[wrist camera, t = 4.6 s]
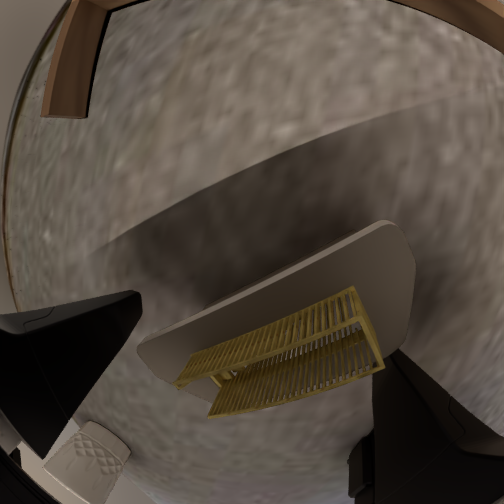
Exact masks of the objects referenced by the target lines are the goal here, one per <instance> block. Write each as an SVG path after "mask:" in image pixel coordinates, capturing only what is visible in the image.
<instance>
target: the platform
mask: <svg viewBox="0 0 504 504" xmlns="http://www.w3.org/2000/svg"><path fill="white" fill-rule="evenodd" d="M415 276H416V262H415V259H414V256H413V253H412V251H411V248H410V246H409V243H408V241H407V238H406V236H405V234H404V232H403V230H402V229H401V228H400V227H398V226H397V225H396V224H394V223H393V222H391V221H389V220H380V221H377V222H375V223H373V224H371V225H370V226H368V227H366V228H364V229H362V230H360V231H359V232H357V233H356V231H355V230H352V231H350V232H348V233H346V234H345V235H343V236H341V237H339V238H337V239H335V240H333V241H332V242H330V243H328V244H326V245H324V246H322V247H320V248H318V249H317V250H315V251H313V252H311V253H309V254H307V255H305V256H303V257H301V258H299V259H297V260H296V261H294V262H292V263H290V264H288V265H286V266H284V267H282V268H280V269H278V270H276V271H274V272H272V273H270V274H268V275H266V276H264V277H262V278H260V279H258V280H256V281H254V282H252V283H250V284H248V285H246V286H244V287H242V288H240V289H238V290H236V291H234V292H232V293H230V294H228V295H226V296H224V297H222V298H220V299H218V300H216V301H214V302H212V303H210V304H208V305H206V307H205V308H204V309H203V311H201V312H199V313H197V314H195V315H193V316H191V317H188V318H186V319H184V320H182V321H180V322H178V323H175V324H173V325H171V326H169V327H167V328H165V329H162V330H160V331H158V332H156V333H154V334H151V335H149V336H147V337H145V338H144V339H143V340H142V342H141V343H140V344H139V345H138V346H137V353H138V355H139V357H140V358H141V359H142V360H143V362H144V363H145V364H146V365H147V366H148V368H149V369H150V370H151V371H152V372H153V374H154V375H155V376H157V377H158V378H160V379H162V380H164V381H166V382H168V383H170V384H172V385H174V386H175V387H176V388H177V389H178V390H180V389H182V390H184V391H186V392H188V393H190V394H193V395H195V396H197V397H199V398H202V399H204V400H206V401H208V402H211V403H213V405H212V407H211V409H210V411H209V414H208V416H207V417H208V418H209V419H212V418H218V417H224V416H230V415H236V414H241V413H246V412H251V411H255V410H260V409H264V408H268V407H272V406H276V405H280V404H284V403H288V402H292V401H295V400H299V399H302V398H305V397H309V396H312V395H315V394H318V393H321V392H324V391H327V390H330V389H333V388H336V387H339V386H342V385H344V384H347V383H350V382H352V381H355V380H358V379H360V378H363V377H365V376H368V375H370V374H372V373H375V372H377V371H379V370H382V369H384V368H385V365H384V362H383V358H386V357H387V356H389V355H390V354H392V353H393V352H394V351H395V350H396V349H398V348H399V347H400V346H401V345H402V344H403V343H404V341H405V339H406V335H407V330H408V325H409V319H410V314H411V307H412V300H413V293H414V285H415ZM351 292H352V294H351ZM347 293H348V294H349V298H350V303H351V307H352V311H353V316H354V317H353V318H351V319H350V317H349V311H348V306H347V302H346V297H345V294H347ZM341 296H342V300H341ZM352 296H353V298H352ZM338 298H339V301H340V307H341V314H342V321H343V322H342V323H341V316H340V309H339V302H338ZM333 300H335V306H336V314H337V323H338V325H335V319H334V309H333ZM353 300H354V302H353ZM342 302H343V306H342ZM325 304H326V308H327V326H328V329H326V315H325ZM354 304H355V306H354ZM320 306H321V309H322V332H321V320H320ZM343 307H344V312H343ZM355 307H356V310H355ZM312 310H314V317H313V335H312V336H311V327H312ZM356 311H357V314H356ZM344 313H345V318H344ZM301 315H302V316H301ZM345 319H346V321H345ZM299 320H301V323H300V332H299V340H298V341H297V337H298V329H299ZM307 321H308V323H307ZM358 321H359V323H360V325H361V330H359V331H358V329H357V328H355V330H356V332H355V333H352V327H351V324H353V323H356V322H358ZM294 322H295V323H294ZM293 323H294V325H293ZM347 326H349V330H350V335H348V336H347V331H346V327H347ZM281 328H282V329H281ZM342 328H344V335H345V337H344V338H342V335H341V329H342ZM286 330H287V334H286V335H285V331H286ZM336 331H338V332H339V340H337V341H336ZM331 333H333V338H334V342H332V343H331ZM306 335H307V337H306ZM326 335H328V344H327V345H326ZM285 336H286V339H285ZM322 337H323V346H322V347H321V338H322ZM317 339H318V347H317V349H315V344H316V340H317ZM284 341H285V344H284ZM312 341H313V343H312V351H310V345H311V342H312ZM307 343H308V344H307ZM306 344H307V353H305V348H306ZM302 345H303V346H302ZM283 346H284V347H283ZM301 346H302V355H300V350H301ZM297 347H298V348H297ZM264 348H265V349H264ZM296 348H297V356H296V357H295V353H296ZM292 349H293V351H292V357H291V359H290V355H291V350H292ZM287 351H288V354H287V359H286V360H285V358H286V353H287ZM262 353H263V354H262ZM282 353H283V356H282ZM256 355H257V356H256ZM277 355H278V359H277ZM273 356H274V358H273ZM281 356H282V361H281ZM268 358H269V361H268ZM272 358H273V362H272ZM264 359H265V360H264ZM276 359H277V363H276ZM280 361H281V362H280ZM259 362H260V364H259ZM263 362H264V364H263ZM267 362H268V365H267ZM271 362H272V365H271ZM374 362H376V363H377V367H375V368H373V366H372V363H374ZM255 363H256V364H255ZM246 365H247V368H245V367H244V366H246ZM258 365H259V367H258ZM262 365H263V367H262ZM368 365H369V366H370V370H368V371H366V368H365V366H368ZM250 366H251V367H250ZM254 366H255V367H254ZM266 366H267V367H266ZM360 368H363V373H360V374H359V370H358V369H360ZM249 369H250V370H249ZM253 369H254V370H253ZM257 369H258V370H257ZM231 370H232V371H233V372H237V371H238V372H237V375H236V377H235V376H234V375H233V373H232V372H231ZM245 370H246V371H245ZM355 370H356V376H353V377H352V372H353V371H355ZM248 372H249V373H248ZM348 373H349V378H348V379H346V376H345V374H348ZM340 376H342V380H343V381H340V382H339V377H340ZM335 378H336V383H334V384H333V380H332V379H335ZM326 381H329V386H326ZM320 383H323V385H322V388H320ZM314 385H316V390H314V391H313V387H314ZM308 387H310V391H309V392H307V388H308ZM302 389H303V394H301V390H302ZM295 391H297V396H295ZM289 393H291V398H289ZM284 395H285V399H283V396H284ZM278 396H279V401H277V399H278ZM272 398H274V399H273V402H272ZM267 399H268V402H267V404H266V401H267ZM261 401H262V404H261ZM256 402H257V404H256ZM271 402H272V403H271ZM251 403H252V404H251ZM246 404H247V405H246ZM241 405H242V406H241ZM250 405H251V407H250ZM255 405H256V406H255ZM245 406H246V408H245ZM240 407H241V409H240ZM235 409H236V410H235ZM230 410H231V411H230Z"/></svg>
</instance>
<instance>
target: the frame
mask: <svg viewBox="0 0 504 504" xmlns="http://www.w3.org/2000/svg"><path fill="white" fill-rule="evenodd" d="M146 1H149V0H72V2H71V5H70V7H69V10H68V12H67V15H66V17H65V20H64V23H63V25H62V28H61V31H60V34H59V37H58V40H57V43H56V47H55V50H54V54H53V57H52V61H51V65H50V69H49V73H48V78H47V82H46V87H45V92H44V98H43V104H42V111H41V117H51V118H71V119H82V118H88V113H89V106H90V99H91V93H92V88H93V82H94V77H95V72H96V68H97V63H98V59H99V55H100V51H101V47H102V43H103V40H104V36H105V33H106V30H107V27H108V23H109V20H110V17H111V14H112V13H113V12H116V11H118V10H121V9H124V8H127V7H130V6H133V5H136V4H139V3H143V2H146ZM387 1H391V2H394V3H397V4H400V5H403V6H406V7H409V8H412V9H415V10H418V11H420V12H423V13H426V14H428V15H431V16H433V17H436V18H438V19H440V20H442V21H445V22H447V23H449V24H451V25H453V26H455V27H457V28H459V29H461V30H463V31H465V32H467V33H469V34H471V35H473V36H475V37H476V38H478V39H480V40H482V41H483V42H485V43H487V44H488V45H490V46H492V47H493V48H495V49H496V50H498V51H499V52H501V53H503V54H504V5H503V4H502V3H500V2H499V1H497V0H387Z"/></svg>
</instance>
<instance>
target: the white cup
mask: <svg viewBox="0 0 504 504" xmlns="http://www.w3.org/2000/svg"><path fill="white" fill-rule="evenodd" d="M130 453H131V451H130V450H129V448H128V447H127V445H126V444H125V443H123V442H122V440H120V439H119V438H118V437H117V436H115V435H114V434H113V433H112V432H110V431H109V430H108V429H106V428H104V427H103V426H101V425H99V424H97V423H95V422H92V421H88V422H86V423H85V424H84V425H83V426H82V427H81V428H80V429H79V430H78V432H77V433H75V434H74V435H73V436H72V437H71V438H70V439H69V440H68V441H67V442H66V443H65V444H64V445H63V446H62V447H61V448H60V449H59V450H58V451H57V452H56V453H55V454H54V456H52V457H51V459H50V460H49V461H48V462H47V463H46V464H45V465H44V466H43V469H44V470H45V471H46V472H47V473H48V474H49V475H51V476H52V477H53V478H54V479H55V480H57V481H58V482H59V483H60V484H61V485H63V486H64V487H65V488H66V489H68V490H69V491H70V492H72V493H73V494H75V495H76V496H77V497H79V498H80V499H82V500H83V501H85V502H86V503H88V504H104V503H105V502H106V500H107V498H108V496H109V494H110V492H111V491H112V489H113V487H114V486H115V483H116V482H117V480H118V478H119V476H120V474H121V472H122V471H123V467H124V465H125V463H126V462H127V460H128V458H129V456H130Z"/></svg>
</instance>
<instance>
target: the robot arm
mask: <svg viewBox="0 0 504 504" xmlns="http://www.w3.org/2000/svg"><path fill="white" fill-rule="evenodd" d="M142 312H143V310H142V299H141V294H140V293H139V292H137V291H134V290H128V291H123V292H119V293H114V294H109V295H105V296H100V297H95V298H91V299H86V300H81V301H77V302H72V303H67V304H63V305H58V306H56V307H55V306H53V307H48V308H43V309H38V310H31V311H25V312H17V313H10V314H1V315H0V504H62V503H61V502H59V501H58V500H57V499H55V498H54V497H53V496H52V495H50V494H49V493H48V492H47V491H46V490H44V489H43V488H42V487H41V486H40V485H39V484H37V482H35V481H34V480H33V479H32V478H31V477H30V476H29V475H28V474H27V473H26V472H25V471H24V470H23V469H22V467H21V456H20V450H19V449H18V448H17V446H18V445H19V444H20V442H21V441H23V442H24V443H25V444H26V445H27V446H28V447H29V448H30V449H31V450H32V451H33V452H34V453H35V454H36V455H37V456H39V457H40V458H41V459H42V460H43V459H44V458H45V457H46V455H47V454H48V452H49V450H50V449H51V447H52V446H53V444H54V443H55V441H56V440H57V438H58V437H59V435H60V433H61V432H62V431H63V429H64V428H65V426H66V424H67V423H68V420H70V418H71V417H72V416H73V414H74V413H75V411H76V410H77V408H78V407H79V406H80V404H81V403H82V401H83V400H84V398H85V397H86V396H87V394H88V393H89V391H90V390H91V389H92V387H93V386H94V385H95V383H96V382H97V380H98V379H99V378H100V376H101V375H102V374H103V372H104V371H105V369H106V368H107V367H108V365H109V364H110V363H111V361H112V360H113V359H114V357H115V356H116V355H117V353H118V352H119V351H120V349H121V348H122V347H123V345H124V344H125V342H126V341H127V339H128V338H129V336H130V334H131V333H132V331H133V329H134V328H135V326H136V324H137V323H138V321H139V319H140V318H141V316H142ZM383 362H384V365H385V368H384V369H382V370H379V371H377V372H375V373H372V407H373V419H374V428H373V430H372V431H371V432H370V434H369V435H368V436H367V437H366V438H364V439H363V440H361V441H360V443H359V444H358V445H357V446H356V448H355V449H354V450H353V451H352V453H351V454H350V455H349V459H348V460H347V464H349V490H348V495H349V497H350V498H355V502H354V504H504V437H503V436H500V435H499V434H497V433H496V432H494V431H493V430H492V429H491V428H489V427H488V426H487V425H485V424H484V423H483V422H482V421H480V420H479V419H478V418H477V417H475V416H474V415H473V414H472V413H470V412H469V411H468V410H467V409H465V408H464V407H463V406H462V405H461V404H460V403H459V402H458V401H456V400H455V399H454V398H453V397H452V396H451V397H450V394H449V393H448V392H447V391H446V390H444V389H443V388H442V387H441V386H440V385H439V384H438V383H437V382H436V381H435V380H433V379H432V378H431V377H430V376H429V375H428V374H427V373H426V372H425V371H423V370H422V369H421V368H420V367H419V366H418V365H417V364H416V363H414V362H413V361H412V360H411V359H410V358H409V357H408V356H407V355H405V354H404V353H403V352H402V351H401V350H400V349H399V348H398V349H396V350H395V351H394V352H393V353H392V354H390V355H389V356H387V357H386V358H383ZM375 367H377V363H376V362H374V363H373V368H375Z"/></svg>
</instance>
